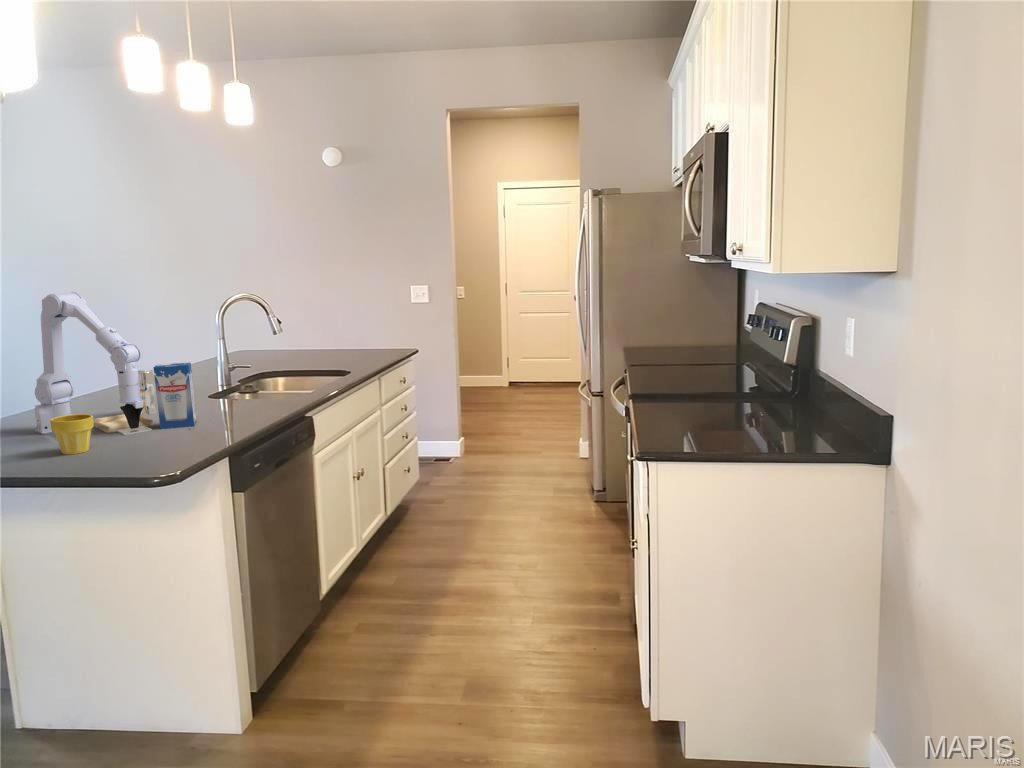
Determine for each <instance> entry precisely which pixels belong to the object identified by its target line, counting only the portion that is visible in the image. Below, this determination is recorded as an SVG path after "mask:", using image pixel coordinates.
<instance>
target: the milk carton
mask: <svg viewBox="0 0 1024 768" xmlns="http://www.w3.org/2000/svg"><path fill="white" fill-rule="evenodd" d="M153 375H154V381H155V394H156V401H157V402H156V403H157V413H158V419H159V428H160V430H164V429H165V430H167V429H177V428H179V429H180V428H190V427H191V428H192V427H193V428H195V426H196V425H197V423H198V419H197V418H198V417H197V410H196V400H195V390H194V381H193V372H192V362H179V363H178V362H177V363H175V362H173V363H161V364H156V365H154V366H153Z"/></svg>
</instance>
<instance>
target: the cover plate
mask: <svg viewBox="0 0 1024 768" xmlns="http://www.w3.org/2000/svg"><path fill="white" fill-rule="evenodd" d="M150 431H153V430H152V428H151V427H149V426H139V427H138V428H134V429H131V428H127V429H121V430H117V431H116V432H118V433H119V434H121V435H124V436H126V435H133V434H139V433H144V432H150Z"/></svg>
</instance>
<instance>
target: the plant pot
mask: <svg viewBox="0 0 1024 768" xmlns="http://www.w3.org/2000/svg"><path fill="white" fill-rule="evenodd" d="M93 419H94V416H93V415H92V414H89V413H75V414H74V413H73V414H71V415H64V416H59V417H55V418H52V419H51V420H50V423H51V430H52V432H51V433H53V434H54V435H55V437H56V440H57V443H58V446H59V450H60V451H61V454H63V455H77V454H83V453H86V452H88V451H89V450H90V444H91V443H90V442H91V434H92V429H93V428H95V427H94V424H93Z"/></svg>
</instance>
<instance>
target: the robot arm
mask: <svg viewBox="0 0 1024 768" xmlns="http://www.w3.org/2000/svg"><path fill="white" fill-rule="evenodd" d="M41 309H42V310H41V313H40V326H41V327H40V329H41V330H40V331H41V345H42V346H41V347H42V361H43V362H42V365H43V373H42V374H41V375H40V376H38V378H37V379H36V385H35V388H34V396H35V398H36V400H37V401H38V402H39V403H40V404H37V405H35V406H34V414H35V423H36V428H37V429H36V431H37V432H38V433H40V434H42V435H46V434H47V433H53V432H52V430H51V423H50V420H51V419H52V418H55V417H59V416H64V415H72V411H71V403H70V401H71V399H72V398H71V397H72V396H73V395H74V392H75V388H74V385H73V382H72V378H71V375H69V374H68V373H67V372H65V359H64V340H63V337H64V336H63V324H62V323H63V322H64V321H65V320H67V319H68V318H69V317H70V318H76V319H77V320H79V321H80V322H81V323H82V324H83V325H84V326H86V327H87V328H88V329H89V330H90V331H91V332H93V333H94V334H95V341H96V342H97V343H98V344H99V345H100V346H102V348H104V350H106V351H107V352H108V353H109V354H110V356H109V358H110V361H111V363H113V365H114V370H115V371H116V373H117V374H116V375H117V383H118V391H119V403H120V404H124V405H121V406H120V407H119V408H120V410H121V411H122V413H123V414H125V416H126V419H127V422H128V424H129V427H130V428H131V429H134V428H138V427H139V421H140V415H141V412H142V409H143V402H142V400H144V399H145V397H141V392H140V384H139V375H138V371H139V369H138V362H139V360H140V359H141V351H140V349H139V347H138V346H137V345H136V344H134V343H130V342H129V341H126V340H125V339H124V338H123V337H122V336H121V335H120V334H119V333H118V332H117V330H116V328H113V327H111V326H105V325H104V324H103V323H102V321H101V320H100V319H99V318H98V317H97V315H96V314H94V312H93V311H92V309H90V307H88V303H87V300H86V299H85V298H83V296H82V295H81V294H80V293H78V292H75V291H74V292H68V293H67V292H66V293H51V294H47V295H46V296H45V297H44V298H43V299H41Z"/></svg>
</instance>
